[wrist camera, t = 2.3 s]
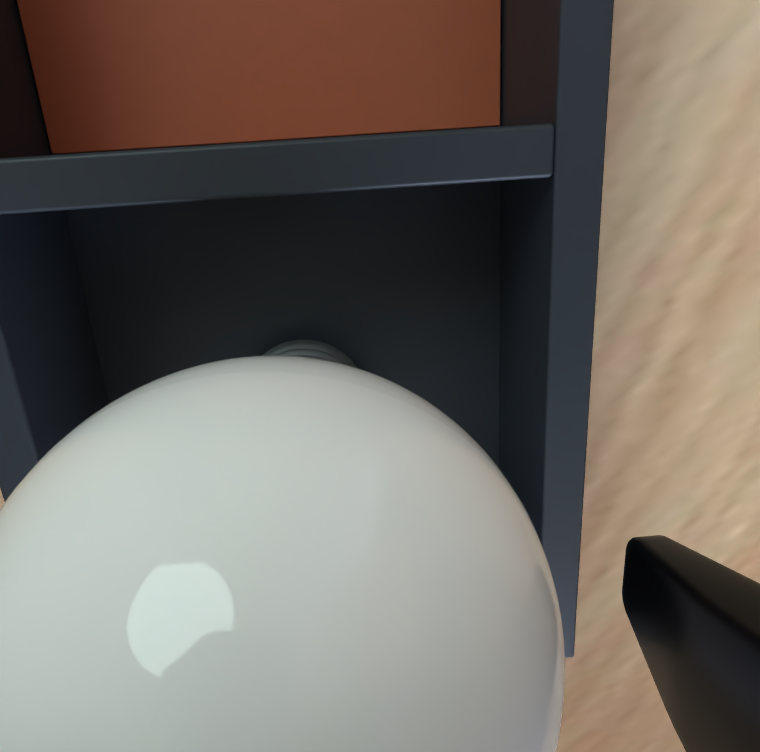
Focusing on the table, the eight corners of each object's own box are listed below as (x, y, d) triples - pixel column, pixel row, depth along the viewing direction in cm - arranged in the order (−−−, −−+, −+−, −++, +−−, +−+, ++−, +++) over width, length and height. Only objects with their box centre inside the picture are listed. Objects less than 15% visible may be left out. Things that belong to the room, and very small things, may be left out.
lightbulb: (336, 547, 16) (333, 1268, 6) (113, 414, 14) (-449, 1089, 4) (498, 359, 15) (888, 876, 4) (270, 186, 13) (2, 344, 3)
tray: (126, 585, 16) (67, 707, 13) (-152, -538, 9) (-457, -962, 6) (524, 549, 17) (574, 657, 13) (550, -553, 10) (674, -956, 6)
